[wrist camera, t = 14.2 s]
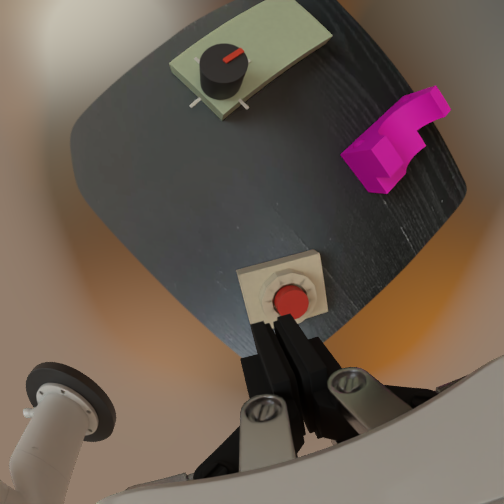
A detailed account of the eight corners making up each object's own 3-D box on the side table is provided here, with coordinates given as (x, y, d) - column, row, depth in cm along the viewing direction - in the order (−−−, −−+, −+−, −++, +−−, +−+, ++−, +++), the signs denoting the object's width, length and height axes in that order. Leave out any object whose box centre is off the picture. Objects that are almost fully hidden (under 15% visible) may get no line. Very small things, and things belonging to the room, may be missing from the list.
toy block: (368, 192, 35) (401, 195, 28) (340, 154, 34) (370, 149, 26) (425, 130, 35) (460, 125, 27) (403, 96, 33) (435, 85, 26)
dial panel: (216, 138, 31) (217, 134, 28) (159, 82, 28) (155, 73, 25) (330, 50, 30) (340, 41, 27) (278, 2, 27) (283, -10, 24)
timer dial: (217, 107, 28) (220, 91, 22) (192, 80, 26) (189, 59, 21) (249, 84, 27) (258, 64, 22) (223, 58, 26) (227, 34, 21)
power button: (277, 317, 33) (281, 323, 32) (271, 289, 32) (274, 295, 31) (306, 308, 34) (311, 314, 32) (301, 281, 33) (306, 286, 31)
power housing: (250, 326, 37) (255, 341, 33) (235, 269, 35) (239, 280, 31) (322, 304, 38) (333, 317, 34) (313, 249, 36) (325, 256, 32)
